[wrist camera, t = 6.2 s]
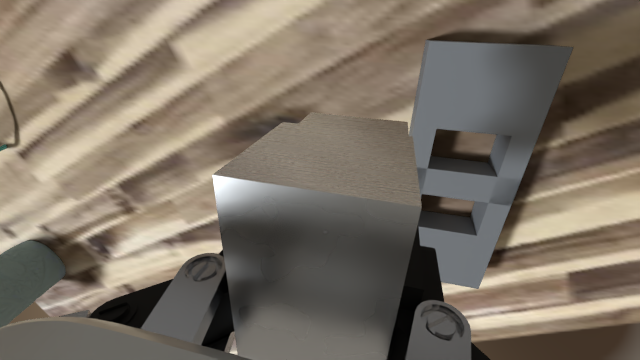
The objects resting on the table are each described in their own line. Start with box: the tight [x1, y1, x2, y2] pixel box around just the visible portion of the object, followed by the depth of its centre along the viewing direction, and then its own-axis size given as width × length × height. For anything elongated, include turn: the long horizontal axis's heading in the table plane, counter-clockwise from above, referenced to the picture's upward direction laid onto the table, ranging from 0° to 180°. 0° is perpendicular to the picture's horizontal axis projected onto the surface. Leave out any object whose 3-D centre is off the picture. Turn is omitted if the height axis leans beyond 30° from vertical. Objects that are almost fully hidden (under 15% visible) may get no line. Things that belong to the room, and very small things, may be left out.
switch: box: [409, 40, 573, 289], centre depth 26 cm, size 22×9×3 cm, turn 178°
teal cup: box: [0, 240, 66, 328], centre depth 46 cm, size 10×10×12 cm
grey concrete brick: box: [212, 113, 422, 360], centre depth 11 cm, size 9×4×8 cm, turn 178°
